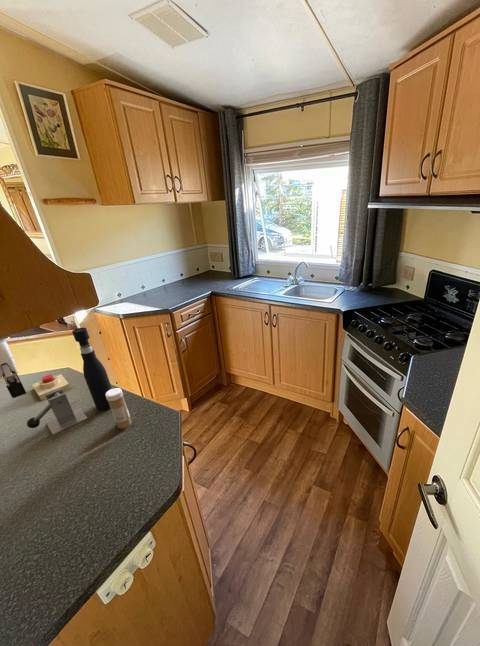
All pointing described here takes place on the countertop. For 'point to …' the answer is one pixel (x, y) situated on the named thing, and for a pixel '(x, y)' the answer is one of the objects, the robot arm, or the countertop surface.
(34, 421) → the lever handle
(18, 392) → the robot arm
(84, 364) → the dark water bottle
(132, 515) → the countertop surface
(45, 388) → the control block
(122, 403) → the sprinkles bottle
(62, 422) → the grey lever stand
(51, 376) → the button
